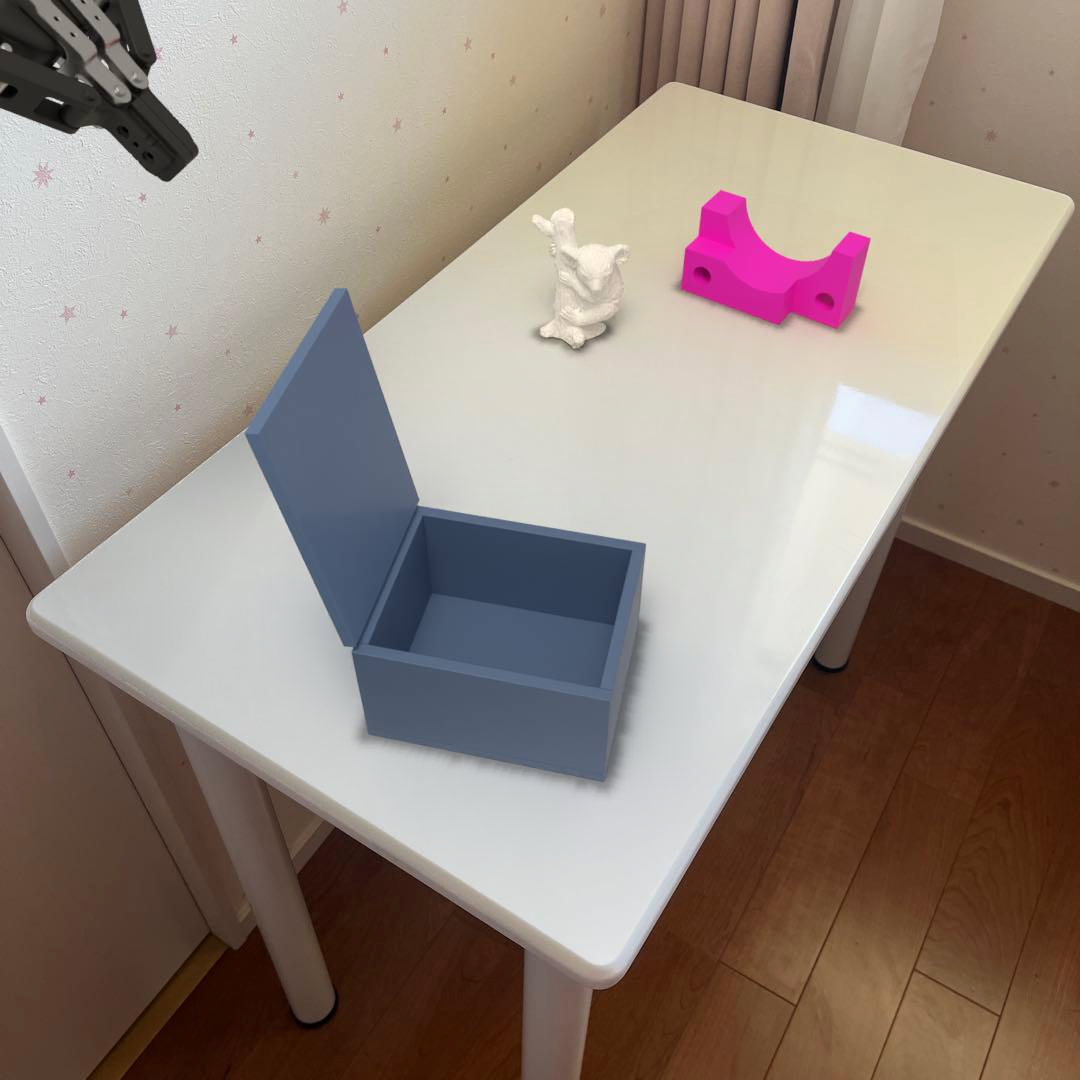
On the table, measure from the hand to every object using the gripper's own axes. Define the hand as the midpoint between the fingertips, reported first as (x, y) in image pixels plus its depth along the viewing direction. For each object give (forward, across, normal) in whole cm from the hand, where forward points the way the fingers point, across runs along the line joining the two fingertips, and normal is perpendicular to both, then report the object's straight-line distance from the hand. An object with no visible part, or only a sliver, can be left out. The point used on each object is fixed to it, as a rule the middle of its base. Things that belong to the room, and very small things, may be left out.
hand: (183, 168), depth 57 cm
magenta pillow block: (+43, -46, +1) cm, 63 cm away
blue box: (+36, +3, -8) cm, 37 cm away
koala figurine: (+32, -36, -11) cm, 49 cm away
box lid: (+17, +4, -3) cm, 18 cm away
